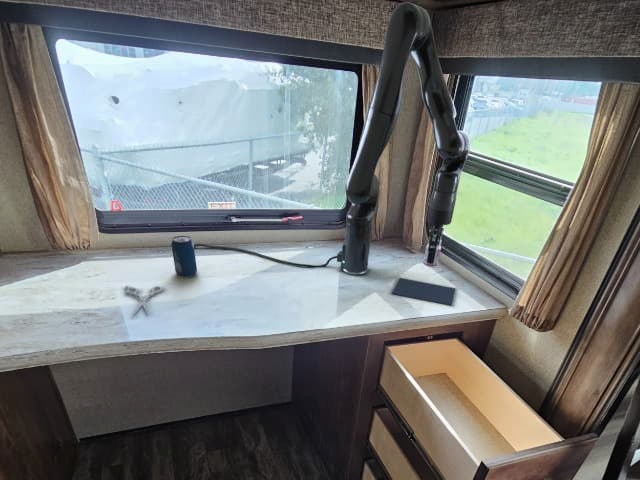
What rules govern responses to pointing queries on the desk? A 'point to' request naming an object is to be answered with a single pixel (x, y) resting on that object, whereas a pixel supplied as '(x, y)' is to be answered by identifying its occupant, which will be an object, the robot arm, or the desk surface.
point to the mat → (424, 291)
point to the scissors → (142, 299)
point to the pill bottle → (435, 255)
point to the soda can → (184, 256)
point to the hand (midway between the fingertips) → (431, 260)
